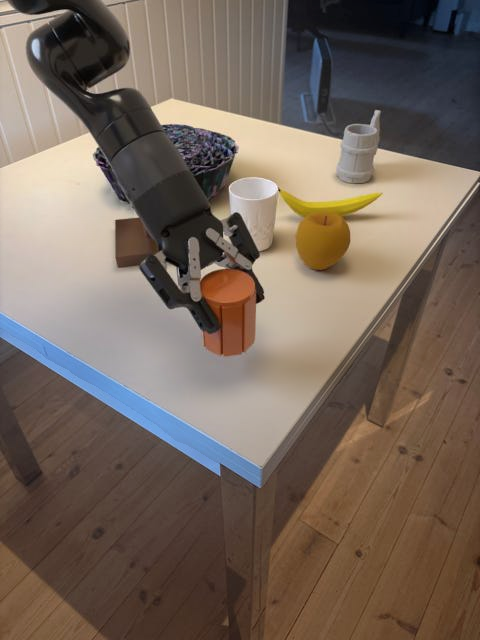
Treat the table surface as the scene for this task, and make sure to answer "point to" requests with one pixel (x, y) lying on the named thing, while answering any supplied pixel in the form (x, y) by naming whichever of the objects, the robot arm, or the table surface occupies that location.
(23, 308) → the table surface
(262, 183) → the white cup
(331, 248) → the apple
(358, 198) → the banana
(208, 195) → the decorative bowl
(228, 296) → the orange cup
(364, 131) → the mug
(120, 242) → the cup stand
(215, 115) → the table surface
